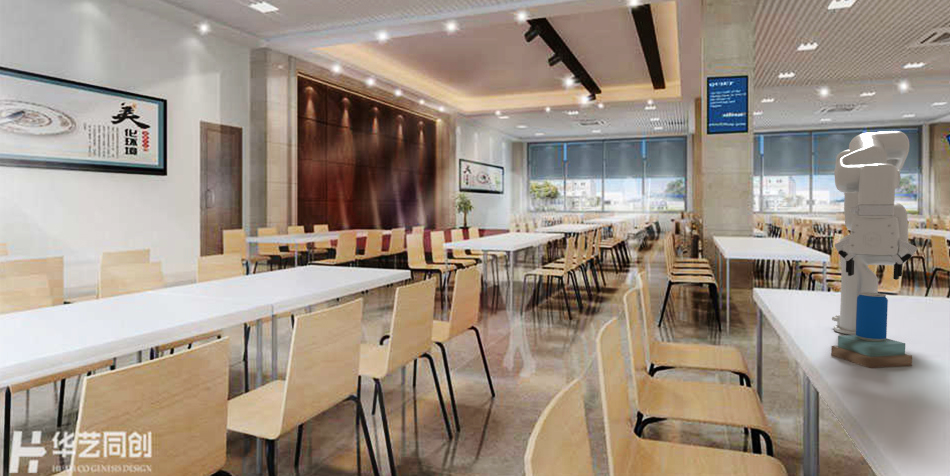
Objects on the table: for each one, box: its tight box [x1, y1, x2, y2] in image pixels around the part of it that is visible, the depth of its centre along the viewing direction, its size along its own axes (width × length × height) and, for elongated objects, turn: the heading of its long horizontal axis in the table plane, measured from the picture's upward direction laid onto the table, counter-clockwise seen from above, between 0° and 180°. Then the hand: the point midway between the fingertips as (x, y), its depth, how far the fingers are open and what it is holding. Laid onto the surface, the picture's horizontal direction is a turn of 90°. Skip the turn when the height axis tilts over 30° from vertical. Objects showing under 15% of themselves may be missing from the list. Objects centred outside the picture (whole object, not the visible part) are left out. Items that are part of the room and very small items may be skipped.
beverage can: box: [856, 292, 889, 342], centre depth 138 cm, size 6×6×12 cm
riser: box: [830, 334, 913, 369], centre depth 139 cm, size 12×12×6 cm
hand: (873, 277), depth 138 cm, fingers open, 9 cm apart
